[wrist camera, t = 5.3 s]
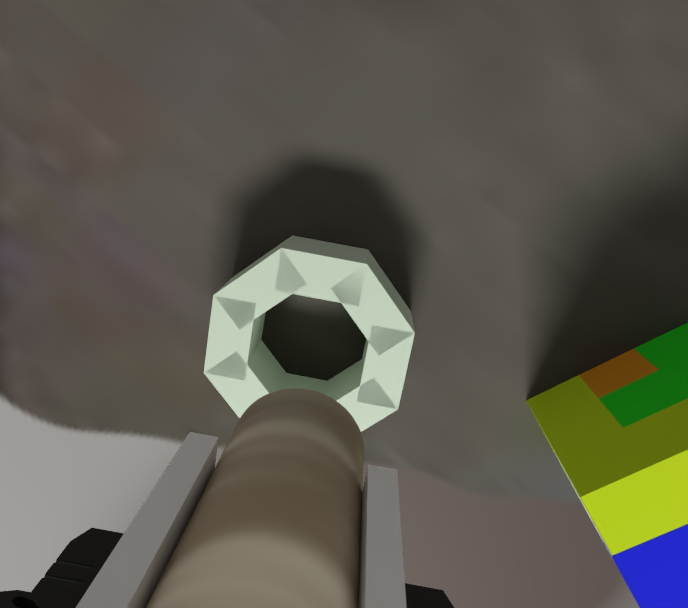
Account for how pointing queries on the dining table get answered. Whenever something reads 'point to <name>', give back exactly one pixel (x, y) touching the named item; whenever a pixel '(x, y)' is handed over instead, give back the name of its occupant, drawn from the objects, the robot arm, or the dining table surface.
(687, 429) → the puzzle toy
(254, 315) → the bead
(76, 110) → the dining table surface
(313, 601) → the striped rounded cylinder
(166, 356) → the dining table surface
